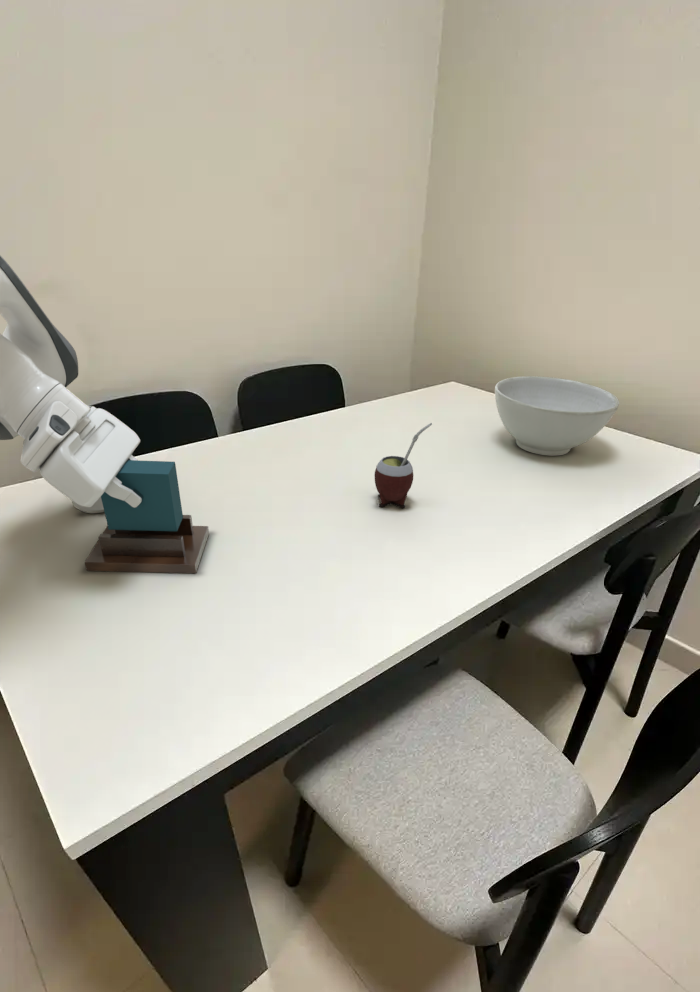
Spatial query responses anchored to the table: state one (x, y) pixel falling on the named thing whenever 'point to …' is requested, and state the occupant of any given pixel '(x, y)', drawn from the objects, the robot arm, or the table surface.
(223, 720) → the table surface
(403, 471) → the mate gourd
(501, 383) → the decorative bowl
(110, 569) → the board
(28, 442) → the robot arm
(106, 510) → the back pad
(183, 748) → the table surface
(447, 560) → the table surface
